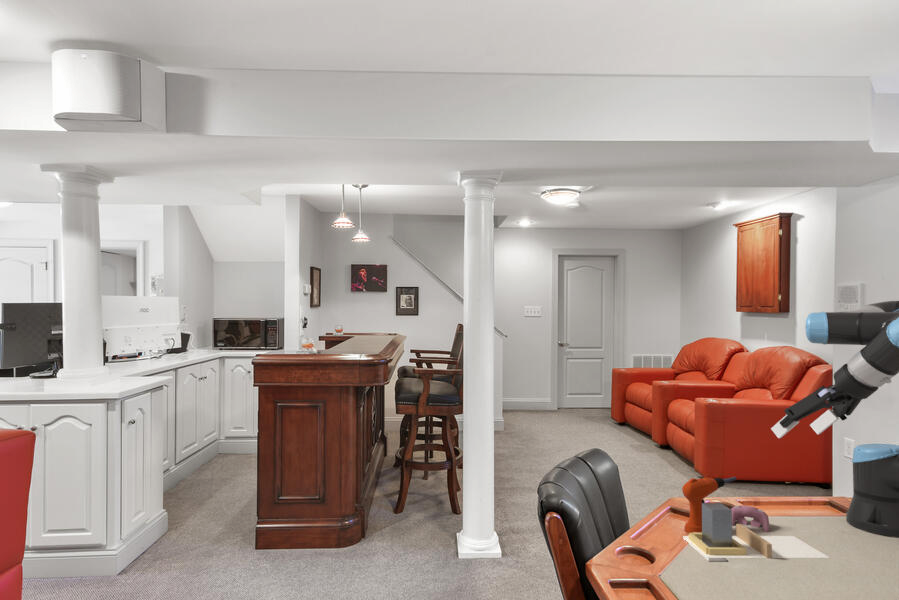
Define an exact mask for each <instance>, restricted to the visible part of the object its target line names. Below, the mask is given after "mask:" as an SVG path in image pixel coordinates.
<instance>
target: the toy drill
mask: <svg viewBox="0 0 899 600" xmlns="http://www.w3.org/2000/svg"><path fill="white" fill-rule="evenodd" d="M736 480H737V477H736V476H732V477H729V478H728V477H727V478H721V477H717V478H713V477H712V478H710V477H703V478H690V479H688V481H687V482H686V483H684V484H683V486H682V488H681V489H682V490H681V491H682V495H683V496H684V497H685V498H686V500H688V503H689V517H688V522H686V523H685V524H684V532H686V533H688V534H689V533H702V503H706V502H705V500H704V499H705V498H707V497H708V496H710V495H712V494H713V493H714V492H716V491H717V490H718V489H720V488H722V487H724V486H725V484H727V483H731V482H733V481H736Z"/></svg>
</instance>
